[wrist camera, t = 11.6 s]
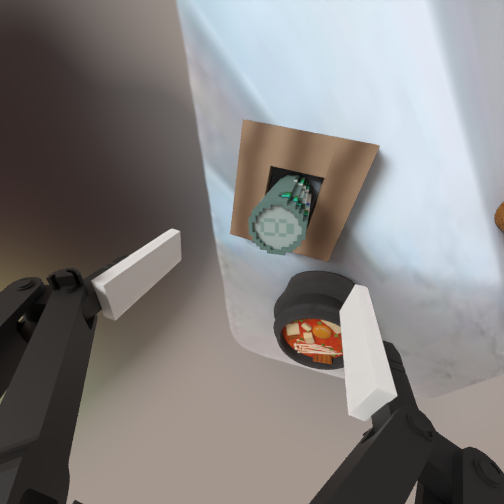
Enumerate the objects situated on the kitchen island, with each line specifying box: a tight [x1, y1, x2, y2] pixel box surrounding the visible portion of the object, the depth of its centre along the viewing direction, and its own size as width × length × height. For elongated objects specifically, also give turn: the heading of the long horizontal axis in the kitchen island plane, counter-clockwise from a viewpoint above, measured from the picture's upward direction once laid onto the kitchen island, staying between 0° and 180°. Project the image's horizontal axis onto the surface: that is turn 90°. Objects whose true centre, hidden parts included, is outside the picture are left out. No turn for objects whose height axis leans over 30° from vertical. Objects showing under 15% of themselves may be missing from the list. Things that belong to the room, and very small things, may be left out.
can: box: [248, 174, 312, 255], centre depth 28 cm, size 6×6×15 cm
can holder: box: [230, 120, 380, 262], centre depth 33 cm, size 18×18×3 cm
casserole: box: [274, 271, 355, 370], centre depth 42 cm, size 25×19×8 cm
